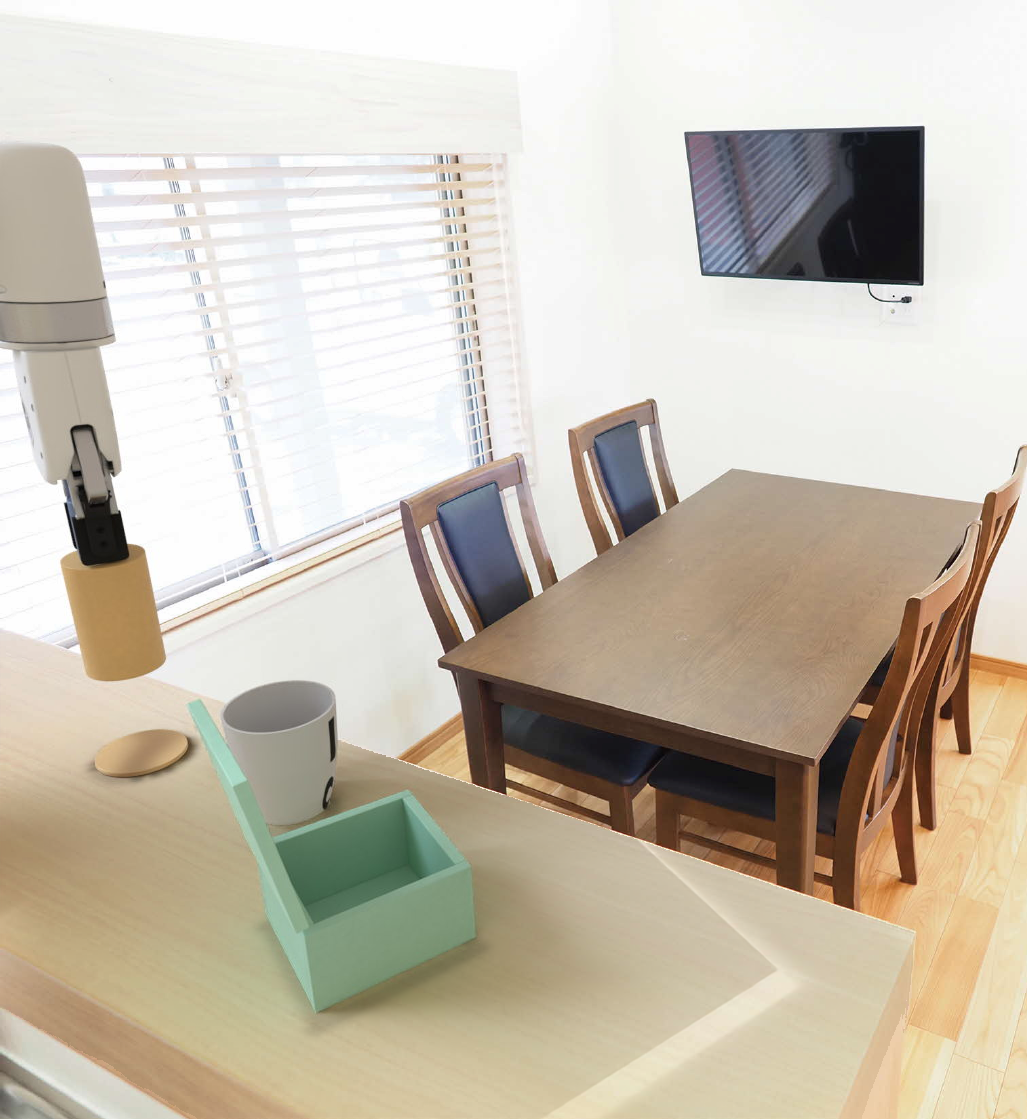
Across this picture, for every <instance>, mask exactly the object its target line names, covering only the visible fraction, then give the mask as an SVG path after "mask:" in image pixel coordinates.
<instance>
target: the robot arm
mask: <svg viewBox="0 0 1027 1119" xmlns="http://www.w3.org/2000/svg"><path fill="white" fill-rule="evenodd" d="M88 191H89V190H88V186H87V181H86V178H85V173H84V168H83V165H82V164H81V160H80V159H79V158H78V157H77V155H76V154H75V153H74V152H72V151H71V150H70V149H68V148H67V147H64V146H62V145H58V144H54V143H53V144H52V143H45V142H35V141H20V140H19V141H18V140H3V139H0V349H3V350H9V351H10V350H11V351H12V358H13V365H14V371H15V379H16V383H17V387H18V392H19V396H20V400H21V401H20V402H21V405H22V410H23V414H24V420H25V423H26V427H27V432H28V436H29V441H30V446H31V452H32V456H33V460H34V463H35V464H36V467H37V469H38V471H39V473H40V475H41V476H42V478H43V480H44V481H45V482H46V483H48V484H50V485H53V486H56V485H58V481H61V484H62V490H63V494H64V497H65V500H66V501H65V502H63V505H64V506H63V507H64V511H65V516H66V519H67V524H68V528H69V534H70V537H71V542H72V546H73V547H74V549H75V550H77V545H78V550H79V554H80V559H81V562H82V564H83V565H85V566H91V565H97V564H102V563H108V562H114V561H120V560H125V559H127V558H128V557H129V550H128V545H127V544H128V541H127V535H126V532H125V531H126V530H125V526H124V520H123V516H122V512H121V510H120V509H119V507H118V502H117V498H116V493H115V490H114V489H115V488H114V484H113V480H112V479H113V478H115V477H117V476H118V475H119V474H120V473H121V472H122V460H121V452H120V445H119V439H118V433H117V427H116V422H115V416H114V411H113V406H112V400H111V394H110V391H109V385H108V381H107V376H106V371H105V367H104V362H103V357H102V352H101V347H104V346H108V345H111V344H114V343H115V342H117V339H116V338H117V337H116V333H115V327H114V321H113V317H112V311H111V306H110V301H109V297H108V291H107V287H106V280H105V276H104V270H103V266H102V260H101V255H100V249H99V244H98V239H97V234H96V228H95V223H94V219H93V218H94V217H93V212H92V208H91V203H90V198H89V196H90V195H89V192H88ZM69 497H71V500H72V504H73V508H74V513H75V516H74V517H71V519H72V523H73V527H72V523H71V519H70V514H69V510H68V505H67V499H68V498H69ZM73 528H74V532H75V536H74V532H73ZM75 537H76V541H77V545H76V541H75Z"/></svg>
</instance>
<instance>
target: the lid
mask: <svg viewBox="0 0 1027 1119" xmlns="http://www.w3.org/2000/svg"><path fill="white" fill-rule="evenodd" d="M186 707H187V710H188V711H189V714H190V716H191V718H192V721H193V723H194V725H195V728H196V729H197V732H198V734H199V736H200V739H201V740H202V742H203V745H204V748H205V750H206V752H207V755H208V757H209V759H210V762H211V764H212V766H213V768H214V770H215V773H216V775H217V777H218V780H219V781H220V784H221V786H222V789H223V791H224V793H225V795H226V797H227V801H228V802H229V804H230V807H231V809H232V812H233V814H234V816H235V818H236V820H237V822H238V825H239V827H240V829H241V832H242V833H243V836H244V838H245V841H246V843H247V845H248V846H249V849H250V850H251V852H252V854H253V857H254V858H255V859H256V863H257V862H258V863H259V865H260V867H261V869H262V871H263V873H264V875H265V877H266V878H267V880H268V882H269V884H270V886H271V888H272V890H273V892H274V894H275V895H276V897H277V899H278V901H279V903H280V905H281V907H282V909H283V910H284V912H285V914H286V916H287V918H288V920H289V922H290V924H291V925H292V927H293V929H294V931H295V933H296V934H298V933H300V932H302V931H303V930H305V929H307V928H308V927H309V924H308V921H307V919H306V917H305V914H304V912H303V909H302V907H301V905H300V902H299V900H298V898H297V895H296V893H295V891H294V888H293V886H292V883H291V881H290V879H289V876H288V874H287V872H286V869H285V867H284V865H283V862H282V860H281V857H280V855H279V853H278V850H277V848H276V846H275V843H274V841H273V836H272V834H271V831H270V829H269V826H268V823H266V822H265V820H264V817H263V815H262V812H261V810H260V808H259V805H258V803H257V801H256V798H255V796H254V793H253V791H252V789H251V786H250V784H249V782H248V780H247V778H246V776H245V774H244V773H243V771H242V769H241V768H240V766H239V764H238V762H237V761H236V759H235V757H234V756H233V754H232V752H231V750H230V749H229V747H228V745H227V741H226V739H225V738H224V736H223V735H222V733H221V731H220V730H219V728H218V726H217V725H216V723H215V721H214V720H213V717H212V716H211V715H210V713H209V711H208V709H207V708H206V705H205V704H204V702H203V700H202V699H201V698H198V699H195V700H193V701H190V702H188V703H187V704H186Z"/></svg>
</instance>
